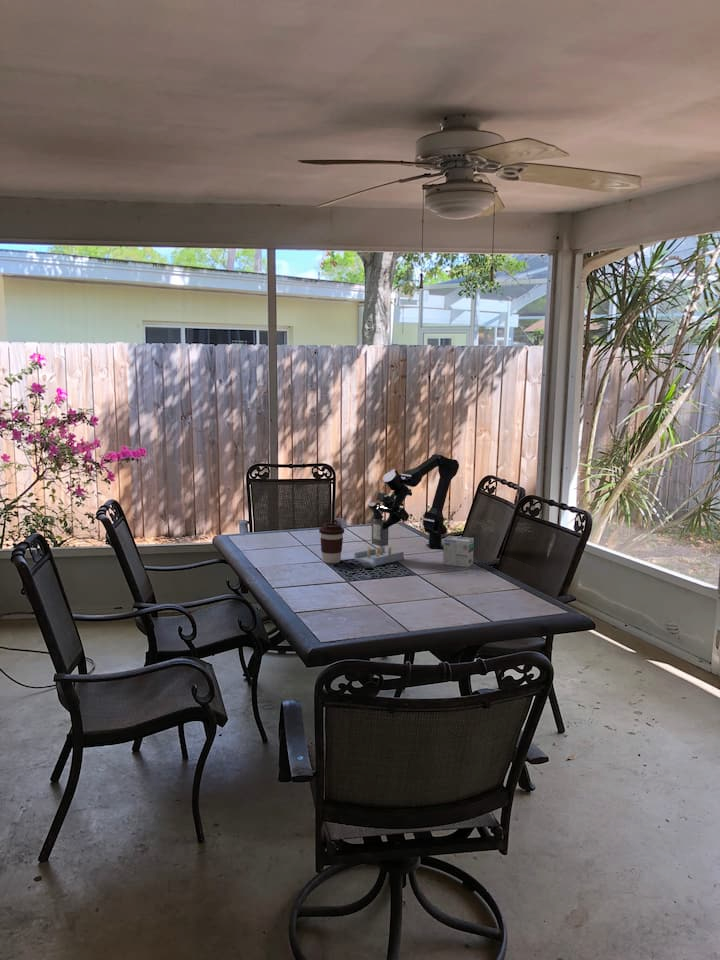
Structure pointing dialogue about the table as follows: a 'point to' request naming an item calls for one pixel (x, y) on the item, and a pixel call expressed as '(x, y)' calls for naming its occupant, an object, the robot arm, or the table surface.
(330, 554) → the coffee cup
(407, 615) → the table surface
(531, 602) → the table surface
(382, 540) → the block
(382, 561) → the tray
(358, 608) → the table surface
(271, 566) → the table surface
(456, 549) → the light bulb box
